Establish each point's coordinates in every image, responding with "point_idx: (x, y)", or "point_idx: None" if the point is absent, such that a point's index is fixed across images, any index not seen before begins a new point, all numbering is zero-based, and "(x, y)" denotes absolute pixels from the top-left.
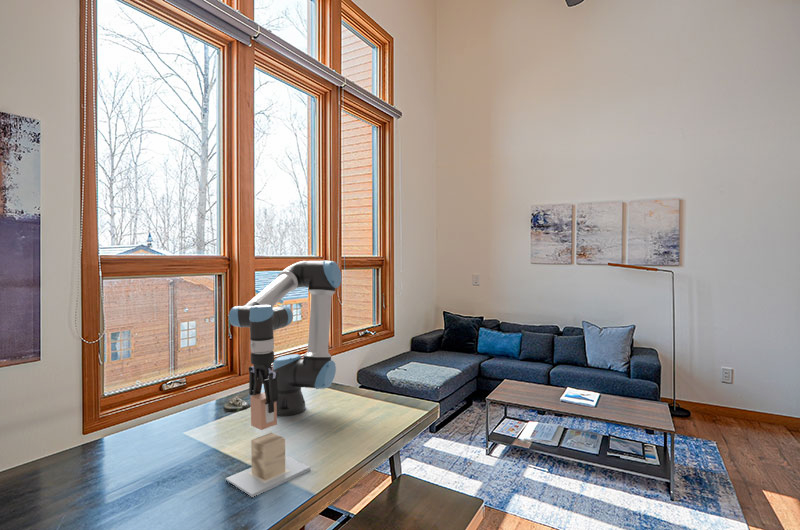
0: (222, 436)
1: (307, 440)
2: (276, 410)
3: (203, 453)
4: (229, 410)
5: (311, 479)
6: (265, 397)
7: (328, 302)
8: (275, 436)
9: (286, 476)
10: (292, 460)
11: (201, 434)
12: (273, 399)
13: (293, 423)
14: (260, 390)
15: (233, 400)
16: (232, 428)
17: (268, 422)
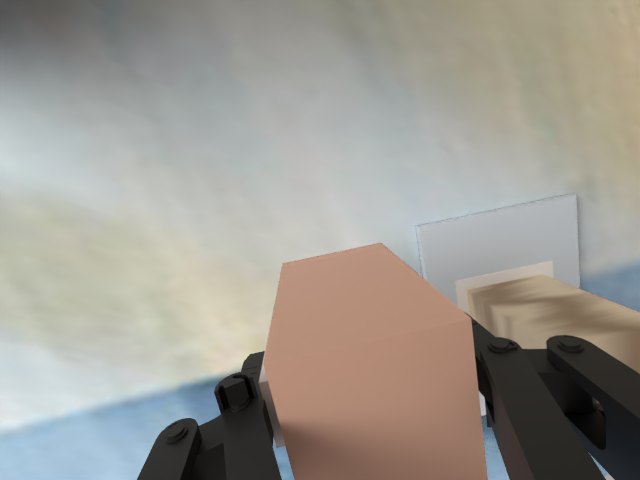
0: (85, 338)
1: (342, 76)
2: (408, 266)
3: (206, 422)
4: None
5: (617, 219)
6: (451, 428)
7: None
8: (611, 350)
9: (571, 284)
10: (489, 221)
11: (17, 394)
12: (595, 399)
13: (107, 28)
14: (272, 453)
15: None
16: (14, 283)
17: None
